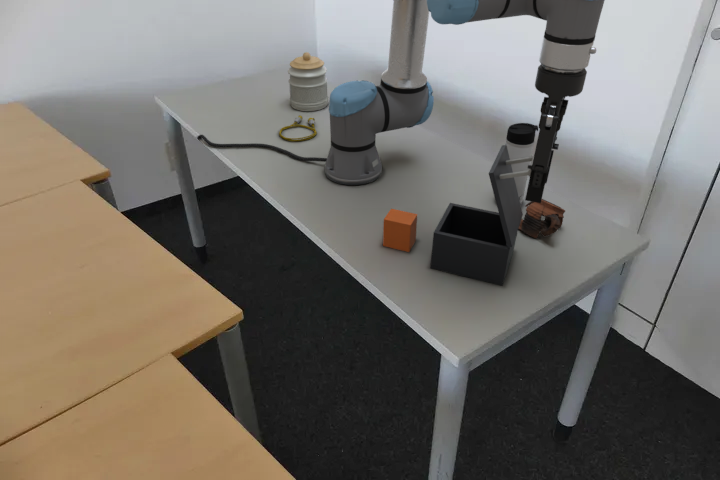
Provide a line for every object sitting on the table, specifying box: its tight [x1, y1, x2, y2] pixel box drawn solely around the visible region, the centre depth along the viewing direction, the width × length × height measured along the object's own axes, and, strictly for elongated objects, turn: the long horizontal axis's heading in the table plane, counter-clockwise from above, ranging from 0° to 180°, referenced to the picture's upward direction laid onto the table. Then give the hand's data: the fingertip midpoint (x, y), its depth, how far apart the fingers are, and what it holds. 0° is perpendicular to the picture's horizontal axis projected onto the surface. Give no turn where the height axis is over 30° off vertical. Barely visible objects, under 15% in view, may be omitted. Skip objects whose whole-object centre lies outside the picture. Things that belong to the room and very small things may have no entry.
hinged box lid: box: [488, 144, 534, 248], centre depth 101 cm, size 16×12×8 cm
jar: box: [287, 51, 329, 112], centre depth 181 cm, size 13×13×18 cm
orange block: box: [382, 208, 418, 253], centre depth 117 cm, size 6×5×7 cm
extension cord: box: [278, 115, 318, 142], centre depth 167 cm, size 12×16×2 cm
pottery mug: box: [518, 198, 566, 239], centre depth 121 cm, size 12×10×8 cm
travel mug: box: [504, 122, 539, 206], centre depth 127 cm, size 6×7×20 cm
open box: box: [430, 202, 518, 287], centre depth 111 cm, size 15×12×9 cm
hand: (536, 190), depth 100 cm, fingers closed on hinged box lid, 7 cm apart
